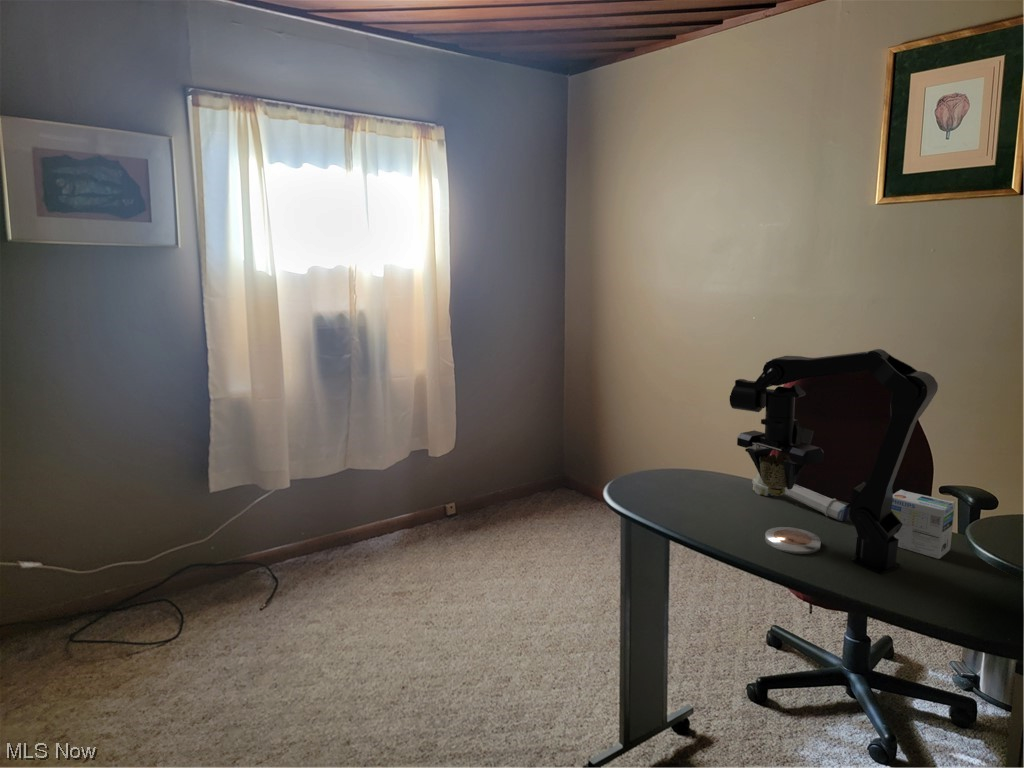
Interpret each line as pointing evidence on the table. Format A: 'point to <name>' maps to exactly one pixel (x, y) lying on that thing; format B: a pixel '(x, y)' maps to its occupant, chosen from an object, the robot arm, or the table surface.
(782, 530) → the rosette plate
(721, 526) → the table surface
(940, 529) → the light bulb box
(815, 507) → the white long bar
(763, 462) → the cup
